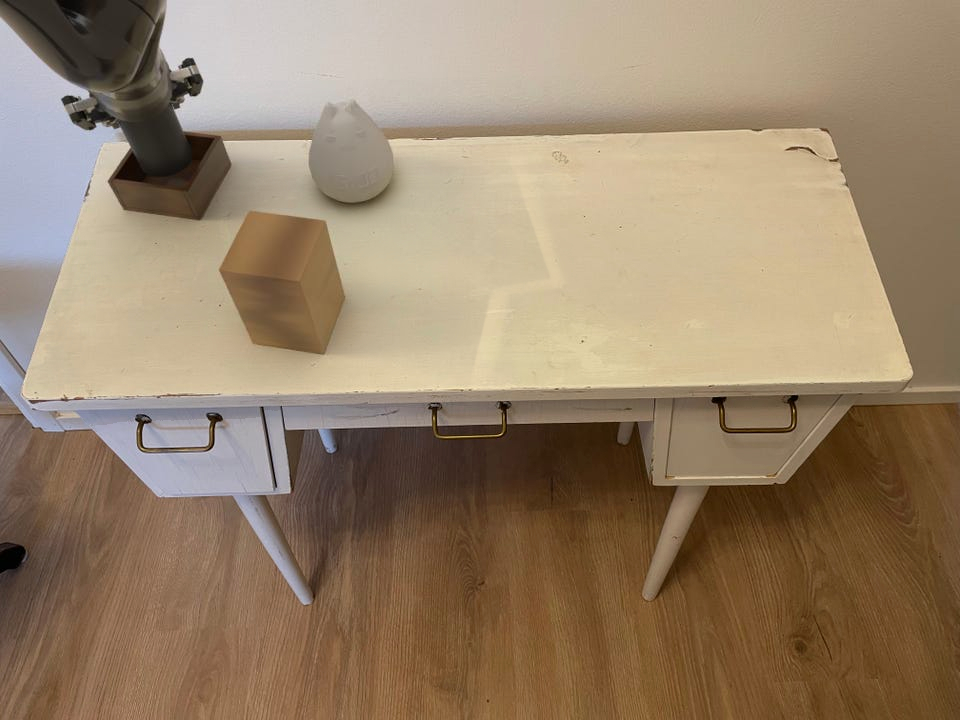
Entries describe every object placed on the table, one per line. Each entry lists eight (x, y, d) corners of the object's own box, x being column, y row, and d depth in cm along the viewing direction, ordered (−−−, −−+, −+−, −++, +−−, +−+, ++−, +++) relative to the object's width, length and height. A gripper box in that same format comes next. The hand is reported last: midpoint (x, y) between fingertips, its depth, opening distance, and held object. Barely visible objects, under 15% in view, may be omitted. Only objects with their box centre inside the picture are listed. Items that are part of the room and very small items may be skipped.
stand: (252, 343, 78) (218, 269, 68) (277, 287, 82) (249, 210, 73) (323, 354, 77) (299, 281, 67) (345, 296, 82) (325, 220, 72)
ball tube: (130, 174, 87) (93, 104, 79) (153, 139, 90) (120, 69, 82) (180, 180, 86) (148, 110, 78) (201, 145, 90) (173, 75, 82)
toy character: (318, 218, 88) (296, 138, 79) (311, 161, 94) (291, 80, 84) (402, 206, 90) (391, 125, 80) (390, 150, 95) (379, 69, 85)
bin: (123, 209, 90) (106, 181, 86) (158, 155, 95) (144, 126, 91) (200, 220, 88) (187, 191, 85) (231, 164, 94) (221, 135, 90)
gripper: (182, 10, 69) (189, 58, 85) (27, 56, 66) (64, 97, 81) (217, 88, 71) (217, 121, 87) (68, 136, 67) (96, 162, 83)
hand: (143, 109), depth 84 cm, fingers closed on ball tube, 6 cm apart
